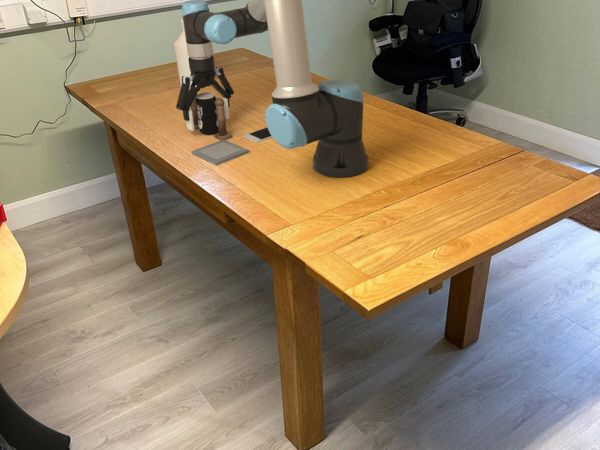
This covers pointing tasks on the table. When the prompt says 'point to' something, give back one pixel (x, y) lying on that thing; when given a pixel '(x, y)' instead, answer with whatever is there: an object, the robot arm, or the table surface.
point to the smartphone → (259, 135)
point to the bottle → (182, 56)
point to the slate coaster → (220, 152)
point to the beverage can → (207, 113)
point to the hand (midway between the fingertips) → (208, 123)
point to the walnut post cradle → (220, 117)
